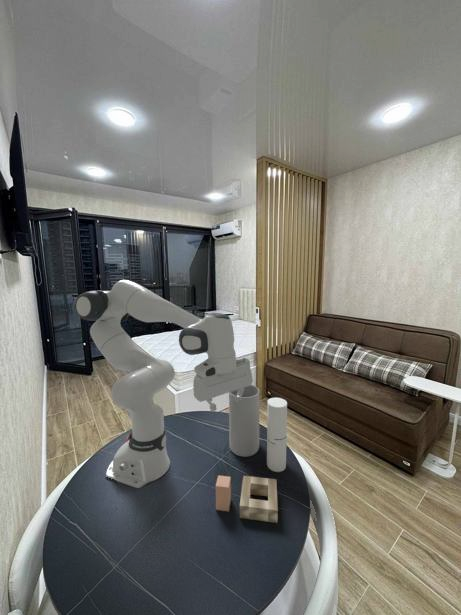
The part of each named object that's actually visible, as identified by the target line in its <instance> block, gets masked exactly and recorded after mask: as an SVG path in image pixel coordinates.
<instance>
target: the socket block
mask: <svg viewBox="0 0 461 615" xmlns="http://www.w3.org/2000/svg"><path fill="white" fill-rule="evenodd" d="M277 488H278V487H277V478H275V479H274V478H268V477H259V476H251V475H250V476H249V475H243V477H242V483H241V492H240V501H239V518H240V519H248V520H253V521H260V522H261V521H262V522H268V523H275V524H278V518H279V515H278V511H279V508H278V507H279V506H278V505H279V504H278V489H277ZM251 495H254V496H262V497H267V500H265V499H255V498H252V496H251Z"/></svg>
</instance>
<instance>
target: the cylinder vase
mask: <svg viewBox="0 0 461 615" xmlns="http://www.w3.org/2000/svg"><path fill="white" fill-rule="evenodd" d="M237 393H238V390H235V391H232V392H229V393H228V423H229V424H228V425H229V426H228V432H229V433H228V434H229V436H228V437H229V438H228V441H229V450H230V451H231V452H232V453H233V454H234V455H236V456H239V457H251V456H254V455H255V454H257V452H258V451H259V449H260V394H261V393H260V389H259V387H257V386H255V385H254V384H251V385H250V386H247V387H244V392H243V394H242V396H241V397H242V401H239V402H237V401H236V400H235V395H237Z"/></svg>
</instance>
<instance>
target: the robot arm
mask: <svg viewBox="0 0 461 615" xmlns="http://www.w3.org/2000/svg"><path fill="white" fill-rule="evenodd" d="M74 306H75V307H74V308H75V312H76V314H77V315H78V317H79V318H80V319H82V320H85V321H90V322H91V321H92V322H94V323H93V324H92V325H91V326H90V328H89V334H90V337H91V339H92V341H93V342H94V344H95V346H96V348H97V349H98V351H99V352H100V353H101V354H102V355H103V357H104V358H105V359H106V360H107V362H108V364H109V365H110V366H111V367H112V368H113V369H116V370H118V371H125V372H128V373H127V374H125V375H124V376H121V378H120V379H118V380H117V381H116V382H114V383H113V385H112V388H111V398H112V401H113V403H114V404H115V405H116V406H117V407H118V408H120V409H123V410H125V411H127V412H128V414H129V416H130V420H131V430H132V431H130V432H129V434H128V436H127V437H126V438H125V440H126V441H125V442H124V443H123V444H122V445H121V446H120V447H119V448H118V450H117V452H116V453H115V454H114V457H113V460H112V461H111V463H110V464H109V465H108V467H107V469H106V472H105V477H106V478H107V477H108V478H107V479H109V478H111V479H110V480H112V479H114V480H113V481H115V480H116V482H118V483H121V484H124V485H127V486H130V487H133V488H136V489H140V488H142V487H144V486H145V485H146V484H148V483H150V482H151V483H152V482H154V481H156V480H158V479H159V478H162V477H163V475H165V474H166V473H167V472H168V470H169V468H170V465H171V460H170V458H169V455H168V452H167V447H166V446H167V445H166V443H167V436H166V428H165V421H164V420H165V418H164V417H165V416H164V409H163V407H161V406H160V405H159V404H157V403H154V397H155V395H156V394H158V393H160V392H162V391H163V390H164V389H166V388H167V387H168V386H169V385H170V384H171V383H172V381H173V380H175V368H174V366H173V365H172V363H171V362H170V361H168V360H165V359H160V358H157V357H154V356H153V355H151V354H149V353H147V352H145V350H143V349H142V348H140V347H139V345H138V344H136V342H135V341H134V339H132V338H131V336H130V335H129V334H128V333H127V332H126V331H125V329H124V328H123V327H122V326H121V323H124V322H127V320H128V317H129V316H131V317H133V318H134V319H136V320H138V321H140V322H144V323H158V322H159V323H160V322H161V323H163V322H164V323H172V324H175V325H177V326H180V327H181V328H183V329H181V330H180V333H179V335H178V344H179V347H180V349H181V350H182V351H183V352H184V353H185V354H187V355H190V356H195V355H200V354H204V353H205V354H207V359H205V360H204V361H202V362H201V363H199V364H197V365H195V366H194V368H193V369H194V373H195V375H194V377H193V381H192V382H193V384H192V385H193V386H192V389H193V396H194V398H195V399H196V400H197V401H198V402H200V403H201V402H205V401H206V402H207V403H208V404H209V410H210V412H215V411H216V410H217V409H218V408H217V404H215V403H214V402H213V399H214V398H216V397H219V396H220V397H221V396H222V395H226V394H229V392H232V391H235V390H238V393H237V395H235V400H236V401H237V402H239V401H242V397H241V396H242V394H243V392H244V387H247V386H250V385H253V382H254V380H253V374H252V370H251V361H250V359H248V358H246V357H243V358H239V359H237V354H236V350H235V346H234V344H235V333H234V326H233V323H232V319H231V318H230V316H229V315H227V314H224V313H220V312H219V313H218V312H216V313H215V312H213V313H208V314H207V315H205V317H200V316H198V315H196V314H194V313H193V312H190V311H189V310H186V309H184V308H182V306H179V305H177V304H174V303H173V302H171V301H169V300H167V299H164V298H163V297H161V296H160V295H158V294H157V293H154V292H153V291H151V290H149V289H148V288H146V287H144V286H143V285H141V284H138V283H137V282H135V281H132V280H128V279H121V280H119V281H116V282H115V283H114V284H113V286H112V288H111V290H90V291H85V292H83V293H81V294H79V295H78V296H77V298H76V301H75V303H74ZM212 402H213V403H212Z"/></svg>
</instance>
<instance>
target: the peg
mask: <svg viewBox="0 0 461 615" xmlns="http://www.w3.org/2000/svg"><path fill="white" fill-rule="evenodd" d="M231 480H232V477H231V476H226V475H217V479H216V483H215V510H217V511H221V512H222V511H223V512H230V507H231V501H232V500H231V499H232V497H231V496H232V495H231V494H232V489H231V488H232V484H231Z"/></svg>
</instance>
